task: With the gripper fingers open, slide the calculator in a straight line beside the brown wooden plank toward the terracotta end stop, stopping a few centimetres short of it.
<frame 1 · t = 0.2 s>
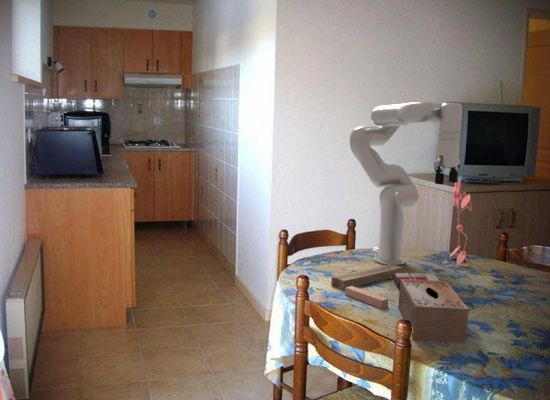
hand: (446, 183, 224), 36 cm above the table, tool pointing down, fingers open, 9 cm apart
leafy plant stem: (450, 262, 252), on the table
calculator: (416, 287, 217), on the table
tissue box cover: (429, 325, 180), on the table
brown wooden plank: (368, 279, 222), on the table
end stop: (365, 300, 199), on the table
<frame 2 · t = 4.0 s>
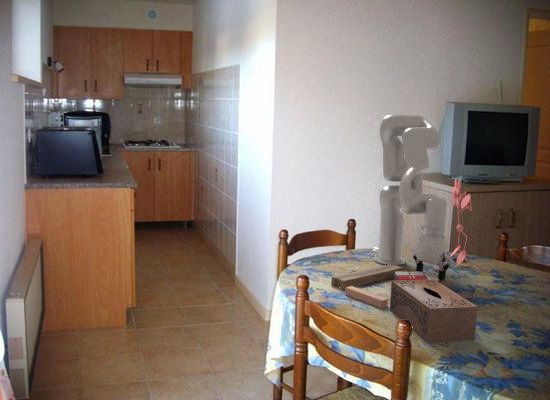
hand: (430, 277, 220), 2 cm above the table, tool pointing down, fingers open, 9 cm apart
calculator: (416, 286, 218), on the table
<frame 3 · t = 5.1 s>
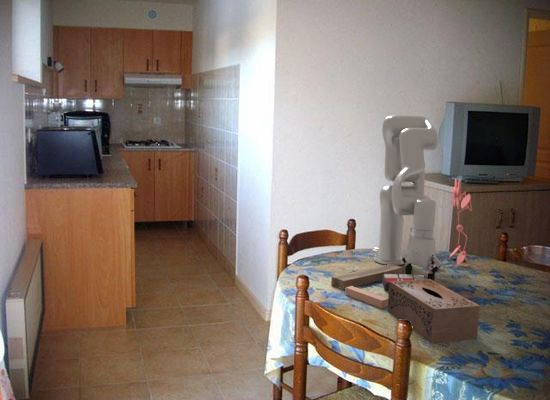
hand: (419, 280, 217), 2 cm above the table, tool pointing down, fingers open, 9 cm apart
calculator: (404, 289, 214), on the table, touching gripper
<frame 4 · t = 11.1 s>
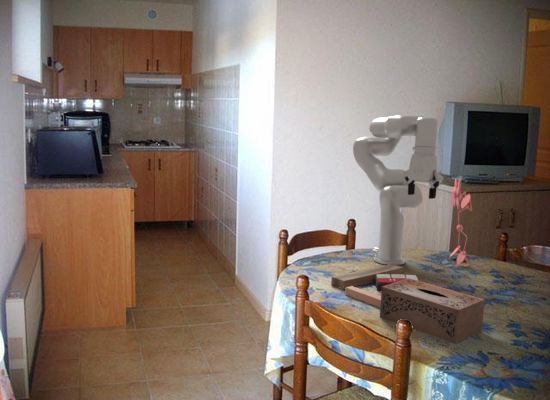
hand: (421, 196, 226), 30 cm above the table, tool pointing down, fingers open, 9 cm apart
calculator: (397, 289, 214), on the table
at the end: calculator inside the target area (4.9 cm from its centre), on the table; calculator tilted 0° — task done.
